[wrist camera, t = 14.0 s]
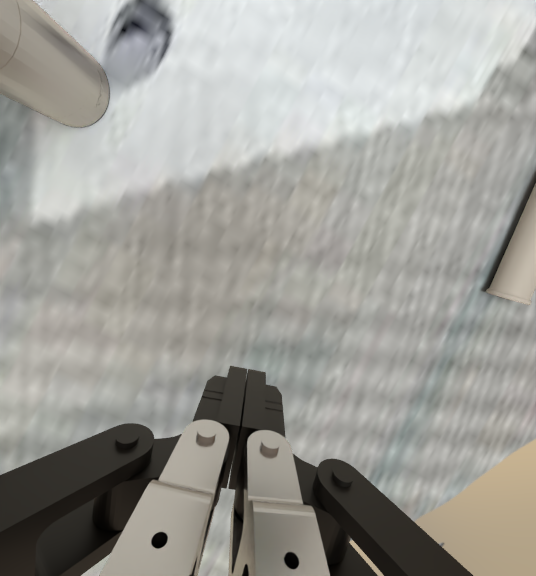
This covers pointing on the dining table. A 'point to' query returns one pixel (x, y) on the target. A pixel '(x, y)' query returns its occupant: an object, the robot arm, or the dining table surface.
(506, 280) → the tube
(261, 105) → the dining table surface
